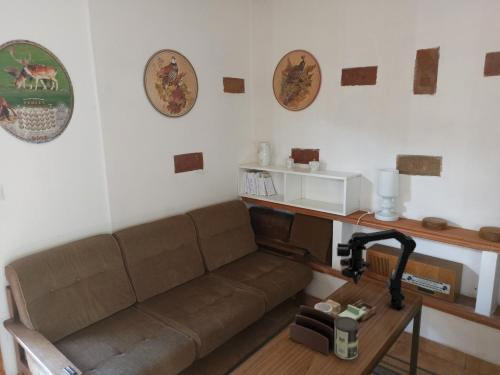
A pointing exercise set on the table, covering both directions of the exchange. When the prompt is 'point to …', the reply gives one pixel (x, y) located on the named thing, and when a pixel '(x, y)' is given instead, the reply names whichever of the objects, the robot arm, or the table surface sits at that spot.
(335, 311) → the block
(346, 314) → the lid
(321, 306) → the dixie cup
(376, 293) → the table surface
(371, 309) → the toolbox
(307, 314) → the letter holder
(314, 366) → the table surface
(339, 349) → the coffee can
